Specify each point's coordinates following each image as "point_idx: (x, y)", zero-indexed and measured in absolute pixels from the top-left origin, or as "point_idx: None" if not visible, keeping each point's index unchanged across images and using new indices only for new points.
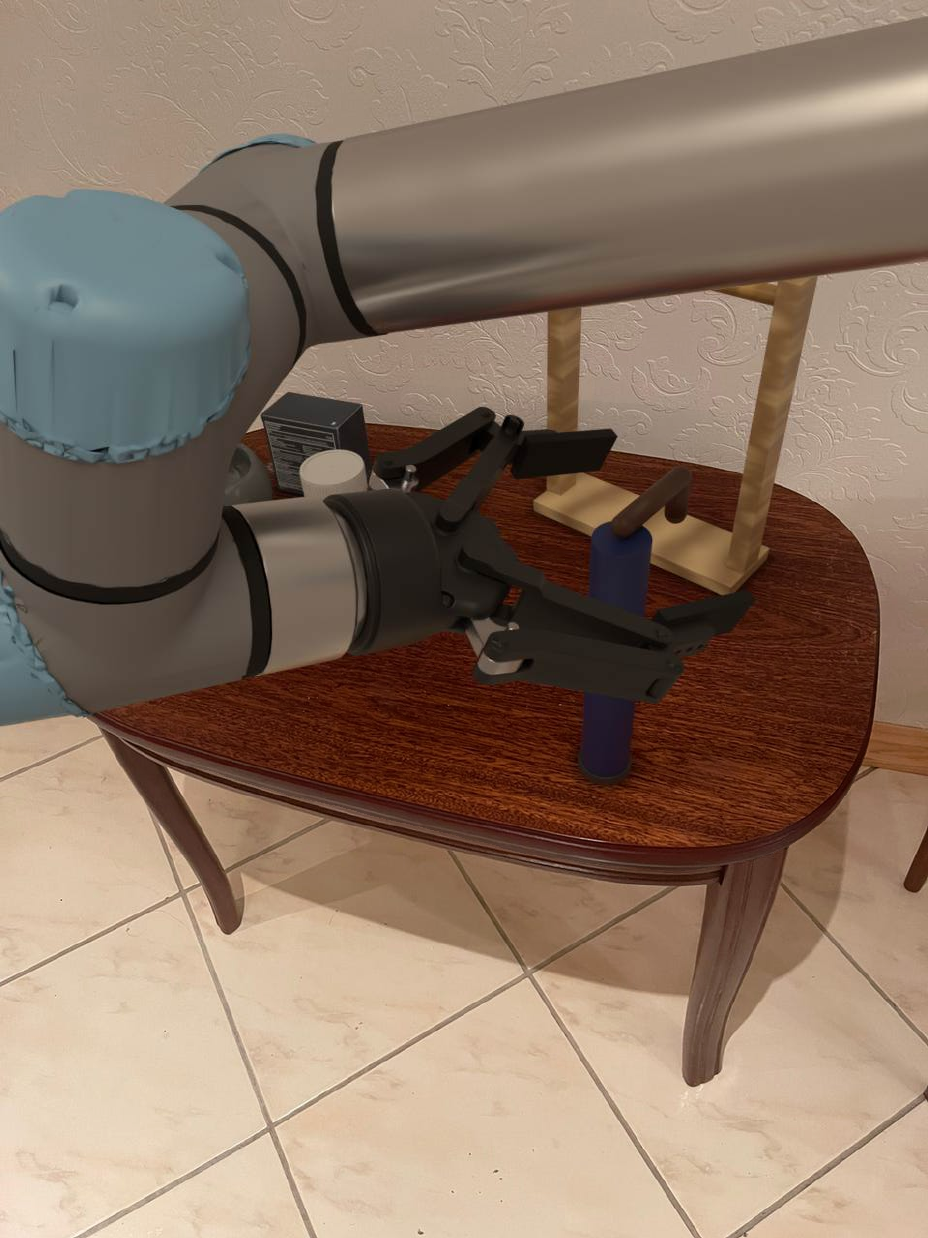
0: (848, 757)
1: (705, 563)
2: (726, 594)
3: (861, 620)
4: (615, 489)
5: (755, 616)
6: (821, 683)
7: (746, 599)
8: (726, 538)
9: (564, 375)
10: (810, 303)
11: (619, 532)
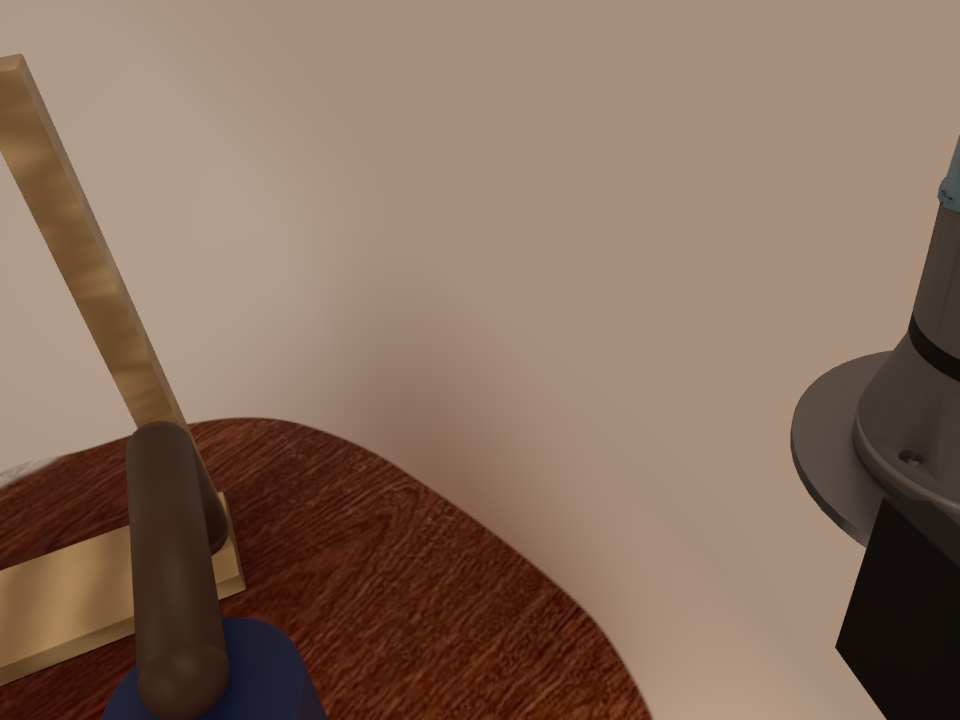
0: (589, 620)
1: None
2: (956, 561)
3: (397, 476)
4: None
5: (301, 578)
6: (458, 574)
7: (944, 522)
8: None
9: None
10: (46, 109)
11: (202, 703)
